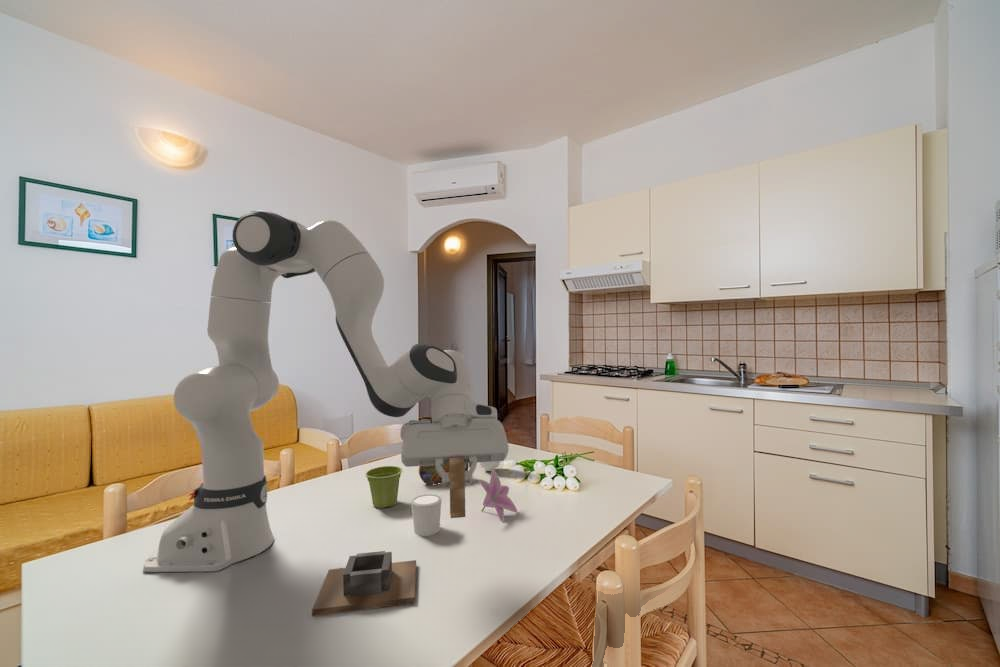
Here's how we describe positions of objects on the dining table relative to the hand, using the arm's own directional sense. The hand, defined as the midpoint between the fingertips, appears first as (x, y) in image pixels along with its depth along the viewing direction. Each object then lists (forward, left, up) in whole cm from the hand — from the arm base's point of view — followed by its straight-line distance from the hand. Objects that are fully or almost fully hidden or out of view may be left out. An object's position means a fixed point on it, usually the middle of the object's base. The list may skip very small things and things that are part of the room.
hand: (457, 483), depth 78 cm
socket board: (-16, +1, -17) cm, 24 cm away
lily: (+11, +27, -18) cm, 34 cm away
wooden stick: (0, +1, -6) cm, 6 cm away
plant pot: (-17, +40, -18) cm, 47 cm away
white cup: (-6, +22, -18) cm, 28 cm away
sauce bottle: (+14, +61, -18) cm, 65 cm away
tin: (-1, +54, -18) cm, 56 cm away
